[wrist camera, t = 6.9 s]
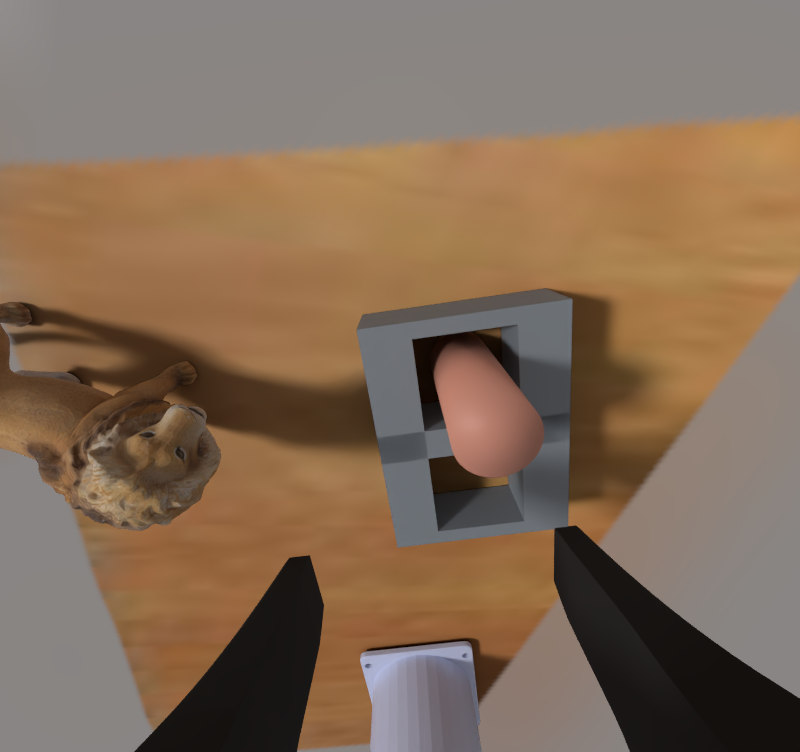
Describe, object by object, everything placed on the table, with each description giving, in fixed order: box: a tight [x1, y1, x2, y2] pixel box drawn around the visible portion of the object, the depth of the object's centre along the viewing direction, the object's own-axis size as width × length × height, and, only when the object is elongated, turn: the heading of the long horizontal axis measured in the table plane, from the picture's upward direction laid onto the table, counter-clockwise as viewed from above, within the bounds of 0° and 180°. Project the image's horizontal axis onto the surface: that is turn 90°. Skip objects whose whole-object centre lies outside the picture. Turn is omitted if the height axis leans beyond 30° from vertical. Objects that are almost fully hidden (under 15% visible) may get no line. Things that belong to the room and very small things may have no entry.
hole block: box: [357, 288, 573, 547], centre depth 19 cm, size 12×9×3 cm
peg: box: [430, 332, 544, 478], centre depth 16 cm, size 3×3×8 cm
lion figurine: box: [0, 302, 221, 531], centre depth 16 cm, size 15×5×9 cm, turn 76°
